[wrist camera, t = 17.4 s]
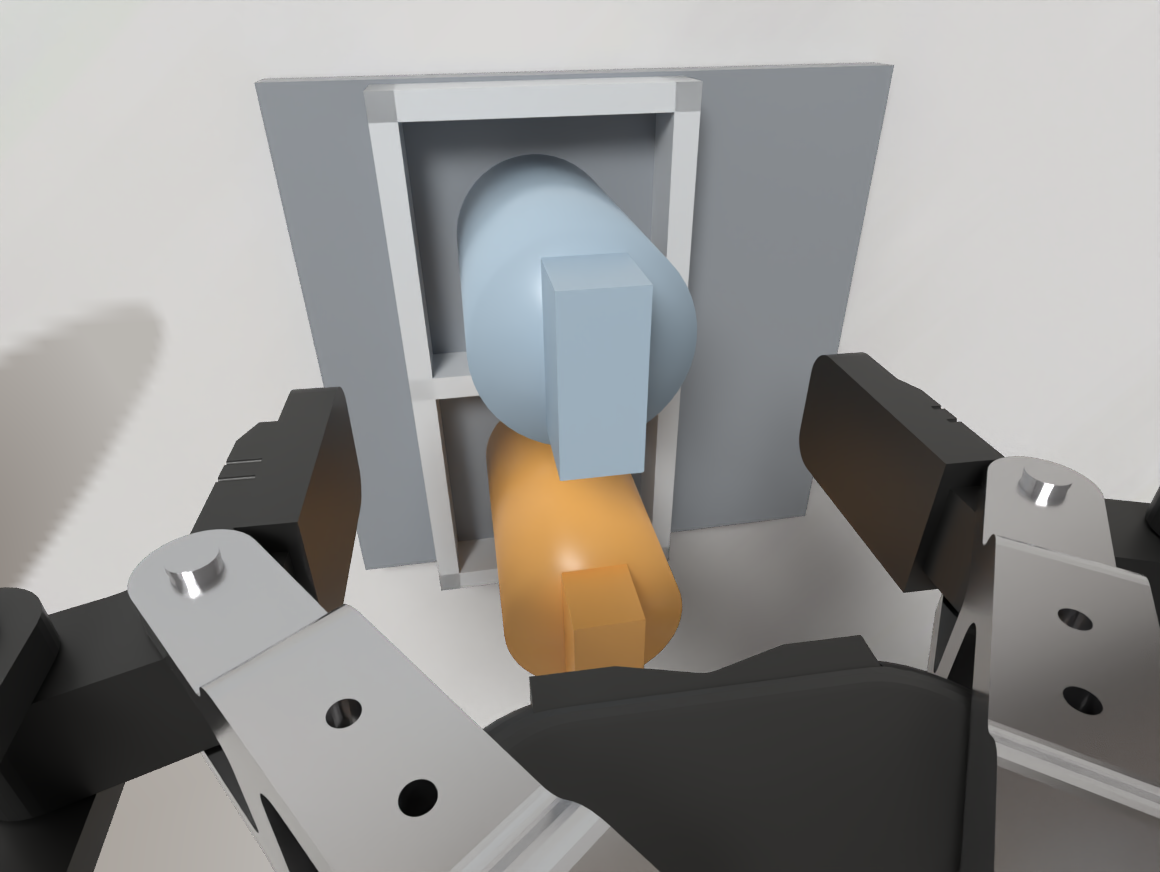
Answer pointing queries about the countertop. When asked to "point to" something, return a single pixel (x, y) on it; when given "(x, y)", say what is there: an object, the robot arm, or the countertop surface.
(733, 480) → the housing
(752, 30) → the countertop surface
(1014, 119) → the countertop surface
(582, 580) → the orange bottle
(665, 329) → the light blue bottle
